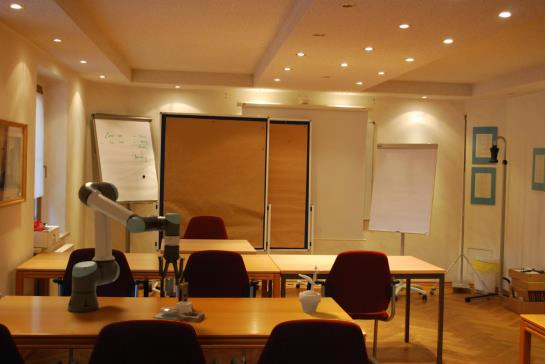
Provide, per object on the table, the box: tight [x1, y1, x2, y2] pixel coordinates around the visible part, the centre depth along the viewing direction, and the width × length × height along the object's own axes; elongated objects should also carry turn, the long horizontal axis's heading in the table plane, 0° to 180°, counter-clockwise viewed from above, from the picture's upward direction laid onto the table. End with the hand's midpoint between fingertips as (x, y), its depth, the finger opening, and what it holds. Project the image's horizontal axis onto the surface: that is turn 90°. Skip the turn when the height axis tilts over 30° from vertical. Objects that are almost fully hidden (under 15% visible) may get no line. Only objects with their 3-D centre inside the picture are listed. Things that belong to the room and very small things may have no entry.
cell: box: [165, 276, 176, 297], centre depth 276 cm, size 4×4×9 cm
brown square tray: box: [177, 311, 205, 323], centre depth 273 cm, size 10×10×2 cm
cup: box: [175, 301, 193, 316], centre depth 279 cm, size 6×6×6 cm
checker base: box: [152, 312, 179, 321], centre depth 277 cm, size 12×12×1 cm
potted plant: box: [298, 266, 322, 314], centre depth 295 cm, size 13×12×25 cm
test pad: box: [159, 306, 179, 314], centre depth 277 cm, size 9×9×2 cm
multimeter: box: [177, 269, 196, 311], centre depth 292 cm, size 15×10×20 cm
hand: (170, 291), depth 276 cm, fingers closed on cell, 4 cm apart
